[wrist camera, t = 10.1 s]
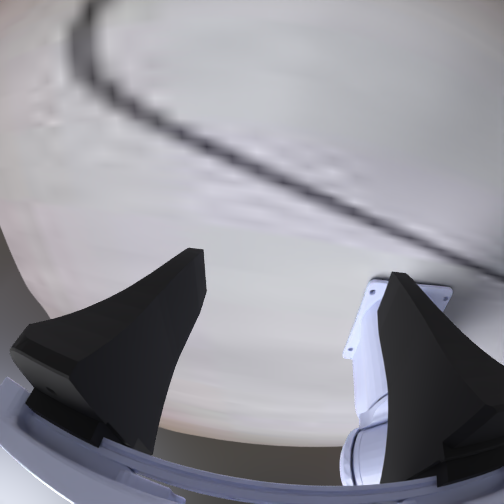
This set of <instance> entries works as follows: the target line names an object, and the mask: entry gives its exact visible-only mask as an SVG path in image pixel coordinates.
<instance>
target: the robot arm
mask: <svg viewBox="0 0 504 504" xmlns="http://www.w3.org/2000/svg"><path fill="white" fill-rule="evenodd" d="M371 290H374V291H373V292H370V291H371ZM206 292H207V289H206V277H205V264H204V251H203V249H195V248H187V249H186V250H184V251H182V252H181V253H180V254H178V255H177V256H175V257H174V258H172V259H171V260H170V261H168V262H167V263H165V264H164V265H162V266H161V267H159V268H158V269H156V270H155V271H154V272H152V273H151V274H149V275H147V276H146V277H144V278H143V279H141V280H140V281H138V282H136V283H135V284H133V285H132V286H130V287H128V288H126V289H125V290H123V291H121V292H119V293H117V294H115V295H113V296H111V297H110V298H107V299H105V300H103V301H101V302H98V303H96V304H94V305H92V306H89V307H87V308H85V309H82V310H79V311H76V312H74V313H71V314H68V315H64V316H61V317H58V318H54V319H50V320H46V321H43V322H38V323H33V324H29V325H28V326H27V327H26V329H25V330H24V331H23V333H22V334H21V335H20V336H19V338H18V339H17V340H16V342H15V343H14V344H13V346H12V347H11V348H10V354H11V357H12V359H13V361H14V363H15V364H16V365H17V367H18V368H19V370H20V371H21V372H22V373H23V375H24V376H25V377H26V378H27V379H28V381H29V382H30V383H31V384H32V385H33V387H34V389H33V391H32V393H30V392H29V391H28V390H26V389H25V388H24V387H22V386H21V385H19V384H18V383H16V382H15V381H14V380H12V379H11V378H9V377H6V378H5V379H4V381H3V382H2V384H1V385H0V446H1V447H2V448H3V449H4V450H5V451H6V452H7V453H8V454H9V455H10V456H11V457H12V458H14V459H15V460H16V461H17V462H18V463H19V464H20V465H22V466H23V467H24V468H25V469H26V470H27V471H28V472H30V473H31V474H32V475H33V476H35V477H36V478H37V479H38V480H40V481H41V482H42V483H44V484H45V485H46V486H47V487H49V488H50V489H52V490H53V491H54V492H56V493H57V494H58V495H60V496H61V497H63V498H64V499H66V500H68V501H69V502H70V503H72V504H185V502H186V500H185V498H183V497H181V496H179V495H177V494H175V493H173V492H172V491H171V489H170V488H168V487H166V486H163V485H160V484H158V483H155V482H153V481H151V480H148V479H146V478H143V477H141V476H139V475H137V474H140V475H142V476H146V477H148V478H151V479H154V480H157V481H160V482H163V483H166V484H169V485H172V486H176V487H179V488H182V489H186V490H190V491H194V492H197V493H202V494H206V495H210V496H215V497H219V498H224V499H230V500H235V501H241V502H247V503H254V504H504V366H503V365H502V364H500V363H499V362H497V361H496V360H495V359H493V358H492V357H491V356H489V355H488V354H487V353H485V352H484V351H483V350H482V349H480V348H479V347H478V346H477V345H476V344H474V343H473V342H472V341H471V340H470V339H469V338H468V337H467V336H466V335H464V334H463V333H462V332H461V331H460V330H459V329H458V328H457V327H456V326H455V325H454V324H453V323H452V322H451V321H450V320H449V319H448V318H447V317H446V316H445V315H444V313H443V311H444V309H445V307H446V306H447V304H448V302H449V300H450V298H451V296H452V293H453V291H452V289H451V288H450V287H444V286H434V285H424V284H416V283H415V282H414V281H413V279H412V278H411V277H409V276H408V275H407V274H406V273H399V272H392V273H391V276H390V279H389V281H386V280H376V279H374V280H371V281H370V282H369V283H368V285H367V288H366V291H365V294H364V297H363V300H362V303H361V306H360V309H359V312H358V314H357V317H356V320H355V323H354V325H353V328H352V331H351V333H350V336H349V338H348V341H347V343H346V346H345V348H344V351H343V357H344V358H346V359H352V361H353V376H354V396H355V410H356V413H357V416H358V418H359V428H356V429H354V430H353V431H351V432H350V434H349V435H348V437H347V439H346V441H345V444H344V446H343V448H342V452H341V457H340V475H341V480H342V484H343V486H309V485H292V484H280V483H271V482H263V481H255V480H248V479H242V478H236V477H231V476H225V475H221V474H215V473H211V472H207V471H202V470H198V469H194V468H190V467H187V466H183V465H179V464H176V463H172V462H169V461H166V460H162V459H160V458H156V457H153V456H151V455H152V454H153V450H154V445H155V440H156V435H157V430H158V426H159V422H160V418H161V414H162V410H163V406H164V402H165V399H166V395H167V392H168V388H169V385H170V382H171V379H172V375H173V372H174V369H175V366H176V364H177V361H178V359H179V356H180V354H181V352H182V350H183V348H184V346H185V344H186V341H187V339H188V337H189V335H190V333H191V331H192V329H193V327H194V324H195V322H196V320H197V318H198V316H199V314H200V311H201V308H202V305H203V302H204V298H205V295H206ZM444 297H445V298H444ZM136 473H137V474H136Z"/></svg>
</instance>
